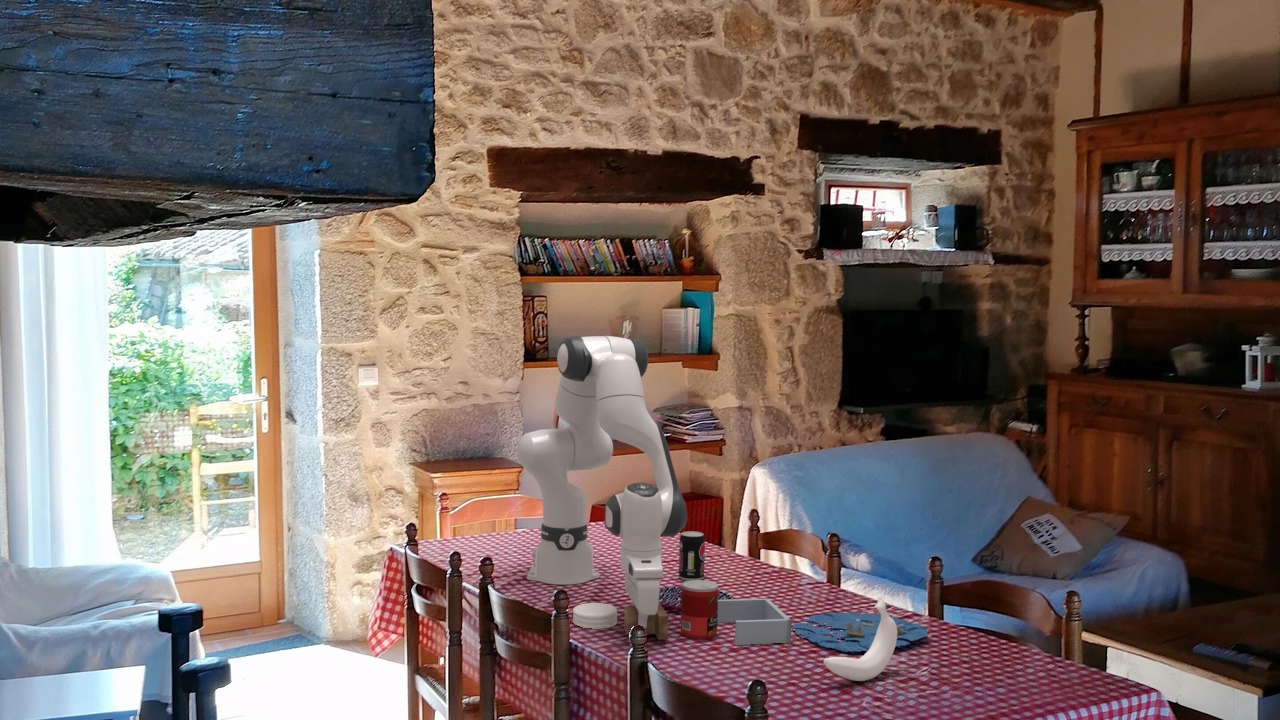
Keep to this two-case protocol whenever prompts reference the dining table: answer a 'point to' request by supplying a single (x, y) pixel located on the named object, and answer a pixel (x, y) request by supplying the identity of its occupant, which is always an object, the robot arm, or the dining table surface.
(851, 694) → the dining table surface
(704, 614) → the canned food
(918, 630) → the decorative plate
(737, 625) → the box
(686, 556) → the beverage can
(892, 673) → the dining table surface
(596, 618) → the white round container
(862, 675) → the banana
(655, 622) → the t-shaped block
